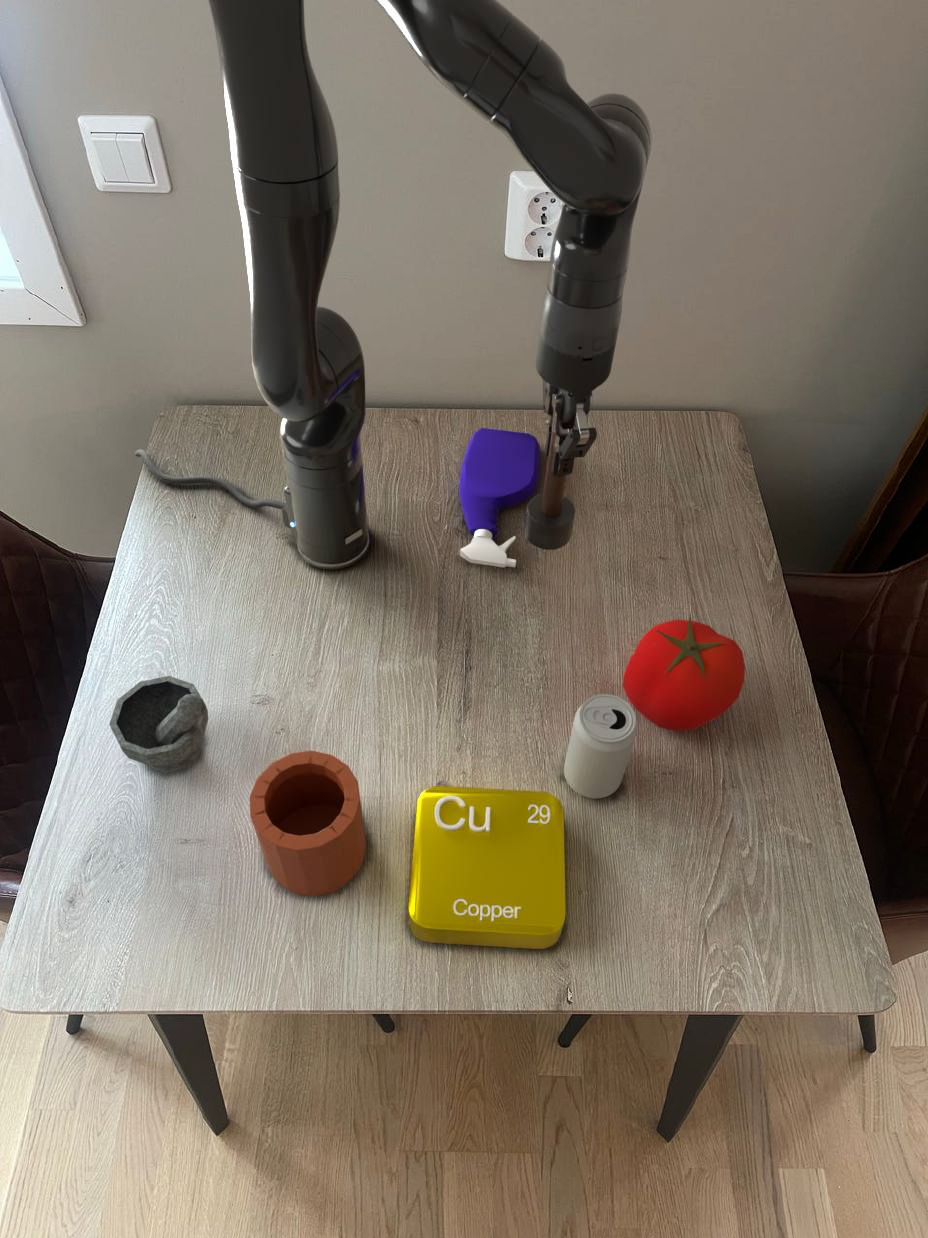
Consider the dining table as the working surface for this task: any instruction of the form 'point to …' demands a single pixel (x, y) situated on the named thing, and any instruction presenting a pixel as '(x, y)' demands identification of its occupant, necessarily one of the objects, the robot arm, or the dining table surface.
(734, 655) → the tomato
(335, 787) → the jar
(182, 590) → the dining table surface
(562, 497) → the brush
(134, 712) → the mortar and pestle
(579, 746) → the beverage can
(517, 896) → the element tile
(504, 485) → the spray bottle
